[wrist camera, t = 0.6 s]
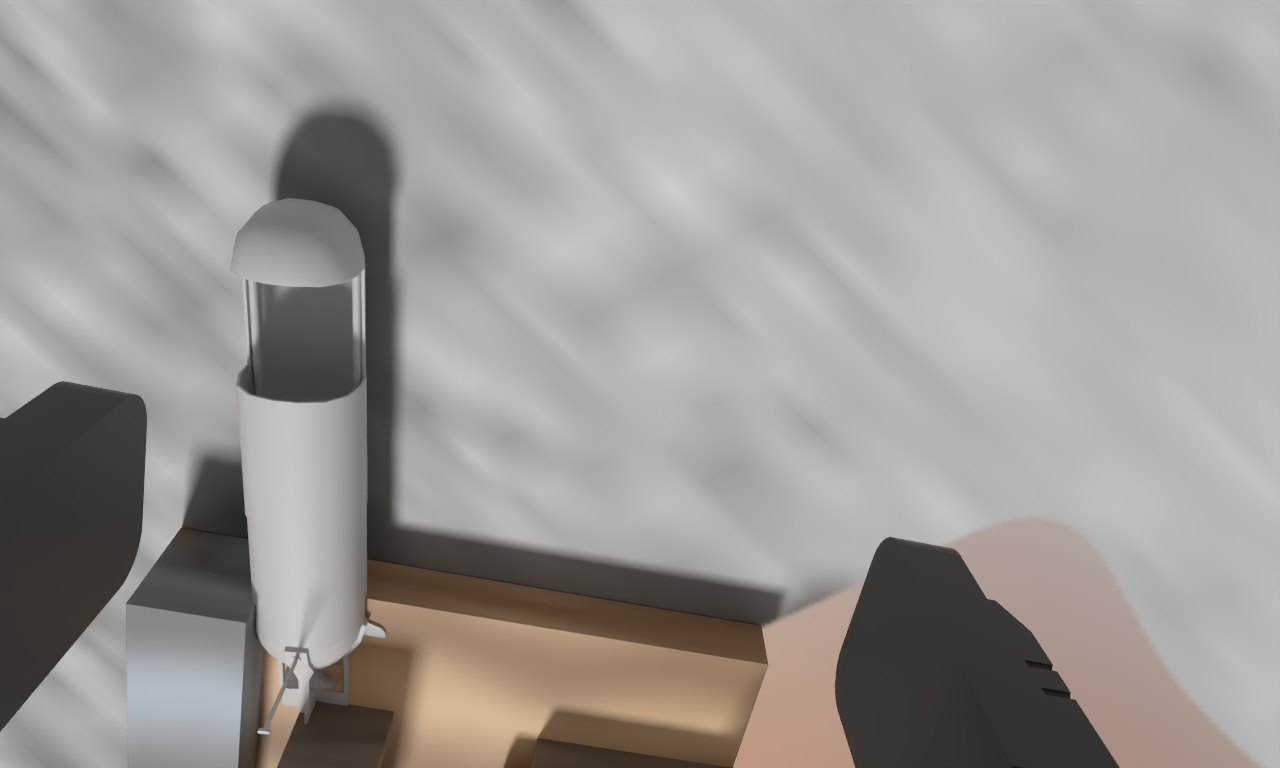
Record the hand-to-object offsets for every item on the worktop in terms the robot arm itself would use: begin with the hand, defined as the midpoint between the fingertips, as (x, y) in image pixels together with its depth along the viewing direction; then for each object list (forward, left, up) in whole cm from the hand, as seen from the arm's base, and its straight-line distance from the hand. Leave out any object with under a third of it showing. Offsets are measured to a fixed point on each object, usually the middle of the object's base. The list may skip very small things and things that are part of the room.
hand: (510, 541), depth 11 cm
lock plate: (+22, -1, -19) cm, 29 cm away
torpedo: (+11, -6, -19) cm, 23 cm away
